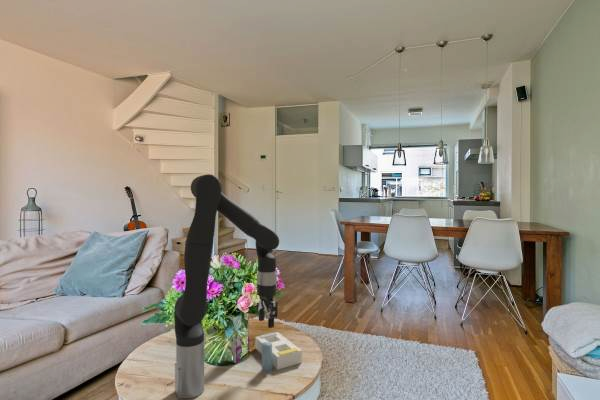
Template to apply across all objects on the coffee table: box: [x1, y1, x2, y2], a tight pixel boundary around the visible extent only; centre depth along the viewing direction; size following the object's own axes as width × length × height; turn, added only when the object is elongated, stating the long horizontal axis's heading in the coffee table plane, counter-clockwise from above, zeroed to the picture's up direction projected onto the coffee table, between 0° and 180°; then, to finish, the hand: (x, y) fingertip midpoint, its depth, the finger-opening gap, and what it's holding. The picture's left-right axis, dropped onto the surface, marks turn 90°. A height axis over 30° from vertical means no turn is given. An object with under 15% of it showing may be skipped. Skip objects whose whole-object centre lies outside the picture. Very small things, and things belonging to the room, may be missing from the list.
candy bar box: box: [232, 314, 250, 364], centre depth 142 cm, size 11×5×16 cm, turn 161°
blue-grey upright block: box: [261, 342, 273, 373], centre depth 131 cm, size 4×4×10 cm
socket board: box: [254, 331, 303, 371], centre depth 143 cm, size 11×22×5 cm, turn 30°
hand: (266, 323), depth 132 cm, fingers open, 8 cm apart
